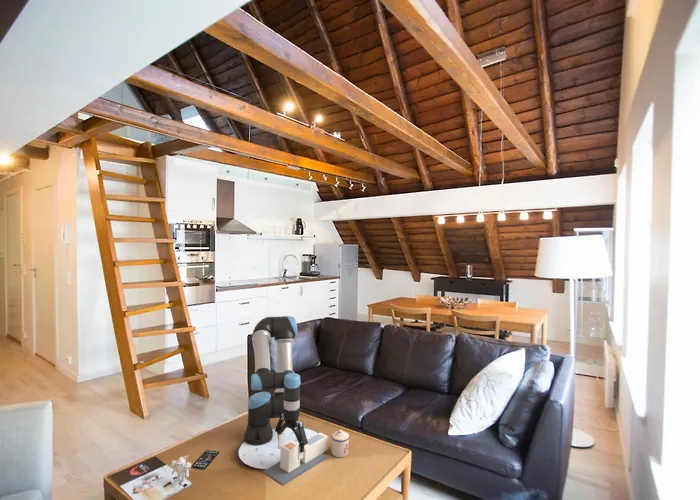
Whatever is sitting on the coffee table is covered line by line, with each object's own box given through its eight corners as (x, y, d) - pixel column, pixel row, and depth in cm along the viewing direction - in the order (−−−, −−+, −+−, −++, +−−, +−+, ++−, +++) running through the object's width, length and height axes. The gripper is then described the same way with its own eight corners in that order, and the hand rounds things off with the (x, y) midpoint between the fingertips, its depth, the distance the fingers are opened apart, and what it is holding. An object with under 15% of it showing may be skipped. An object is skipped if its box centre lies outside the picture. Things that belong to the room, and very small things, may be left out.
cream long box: (294, 459, 185) (294, 445, 185) (319, 445, 199) (319, 431, 198) (303, 464, 181) (303, 449, 181) (327, 449, 195) (328, 435, 195)
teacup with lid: (347, 459, 188) (347, 436, 188) (329, 456, 190) (329, 433, 189) (351, 446, 200) (351, 424, 200) (334, 444, 201) (334, 422, 201)
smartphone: (220, 451, 191) (204, 469, 176) (220, 452, 191) (204, 470, 176) (206, 449, 192) (189, 467, 177) (206, 451, 192) (189, 468, 177)
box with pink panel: (279, 467, 178) (280, 446, 178) (291, 461, 184) (291, 440, 183) (288, 472, 174) (289, 451, 174) (299, 466, 180) (300, 445, 179)
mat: (263, 472, 176) (263, 470, 176) (308, 446, 198) (308, 445, 198) (283, 485, 167) (283, 484, 167) (328, 457, 189) (328, 456, 189)
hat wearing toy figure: (192, 481, 168) (193, 454, 167) (187, 487, 164) (187, 459, 163) (173, 478, 169) (174, 452, 169) (168, 484, 165) (168, 457, 165)
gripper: (268, 402, 183) (267, 446, 183) (304, 418, 167) (303, 466, 167) (280, 398, 189) (279, 440, 189) (316, 413, 173) (315, 459, 173)
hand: (290, 453), depth 178 cm, fingers open, 13 cm apart
